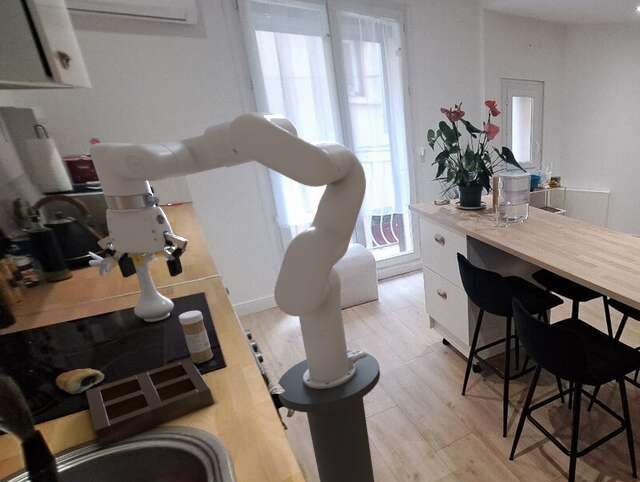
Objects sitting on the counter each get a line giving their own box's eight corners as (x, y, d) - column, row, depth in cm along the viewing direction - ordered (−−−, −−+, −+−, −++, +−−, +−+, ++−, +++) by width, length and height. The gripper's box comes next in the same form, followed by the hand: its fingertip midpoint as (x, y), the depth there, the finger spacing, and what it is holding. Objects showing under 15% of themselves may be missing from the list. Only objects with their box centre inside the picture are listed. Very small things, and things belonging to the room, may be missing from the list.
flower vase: (115, 318, 127) (87, 242, 118) (191, 304, 138) (170, 233, 130) (111, 335, 118) (80, 253, 109) (192, 318, 129) (170, 242, 120)
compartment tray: (193, 371, 103) (189, 357, 102) (214, 403, 92) (209, 388, 91) (92, 405, 90) (85, 390, 89) (101, 447, 79) (94, 430, 78)
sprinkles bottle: (201, 354, 110) (188, 309, 106) (217, 355, 110) (205, 310, 105) (187, 363, 106) (173, 317, 101) (204, 364, 106) (191, 318, 101)
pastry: (47, 388, 95) (41, 374, 94) (84, 372, 101) (78, 359, 100) (75, 396, 93) (69, 382, 91) (110, 379, 99) (105, 366, 98)
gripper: (186, 199, 94) (204, 269, 100) (100, 198, 91) (124, 270, 97) (163, 205, 87) (184, 280, 93) (69, 205, 84) (97, 281, 90)
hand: (153, 275), depth 95 cm, fingers open, 9 cm apart
